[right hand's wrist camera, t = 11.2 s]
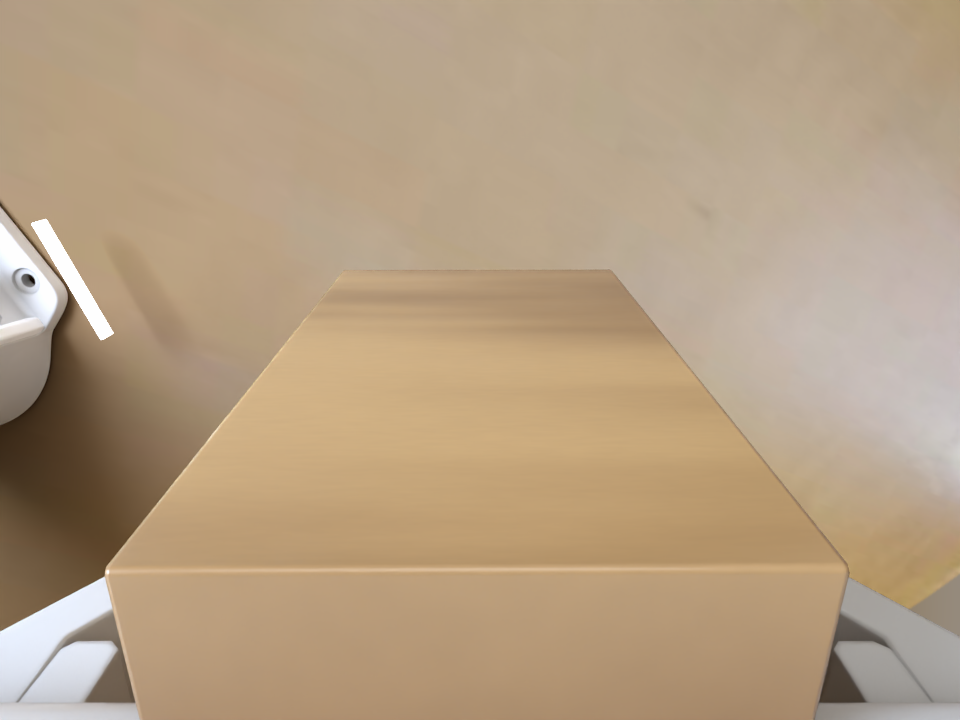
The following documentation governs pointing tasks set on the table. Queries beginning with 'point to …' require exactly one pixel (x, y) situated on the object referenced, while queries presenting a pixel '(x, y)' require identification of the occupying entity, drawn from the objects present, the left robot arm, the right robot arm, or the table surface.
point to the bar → (477, 526)
